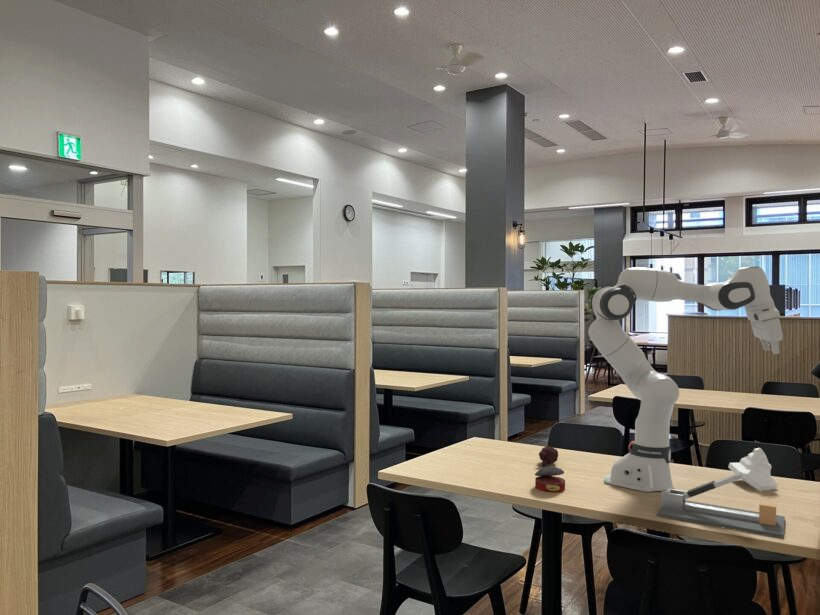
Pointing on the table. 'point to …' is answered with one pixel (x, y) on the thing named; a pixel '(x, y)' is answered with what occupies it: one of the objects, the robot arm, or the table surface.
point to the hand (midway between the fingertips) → (771, 351)
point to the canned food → (549, 480)
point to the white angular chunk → (755, 470)
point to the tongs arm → (711, 485)
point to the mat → (726, 520)
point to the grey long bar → (701, 506)
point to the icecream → (548, 455)
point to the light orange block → (767, 512)
